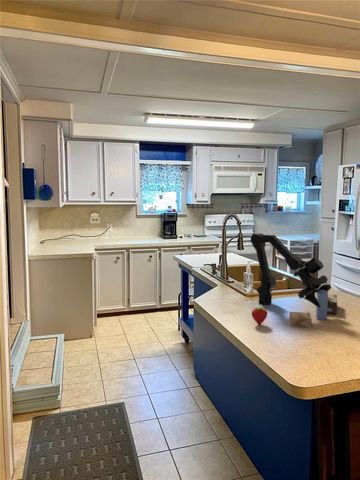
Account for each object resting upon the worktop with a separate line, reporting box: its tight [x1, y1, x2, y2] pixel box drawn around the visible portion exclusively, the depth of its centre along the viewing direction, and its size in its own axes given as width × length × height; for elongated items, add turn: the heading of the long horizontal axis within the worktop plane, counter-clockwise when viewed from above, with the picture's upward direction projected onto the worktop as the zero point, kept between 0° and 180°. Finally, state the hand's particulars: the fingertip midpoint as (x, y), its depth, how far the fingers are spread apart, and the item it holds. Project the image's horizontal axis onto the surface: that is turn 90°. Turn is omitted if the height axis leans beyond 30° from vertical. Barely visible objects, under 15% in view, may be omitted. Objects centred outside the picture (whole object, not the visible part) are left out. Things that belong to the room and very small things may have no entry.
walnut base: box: [289, 311, 312, 328], centre depth 174 cm, size 9×9×4 cm
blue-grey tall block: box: [315, 290, 329, 321], centre depth 180 cm, size 4×4×14 cm
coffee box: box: [327, 293, 338, 315], centre depth 195 cm, size 9×6×16 cm
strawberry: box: [251, 306, 268, 326], centre depth 171 cm, size 6×8×10 cm
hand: (324, 305), depth 179 cm, fingers closed on blue-grey tall block, 6 cm apart
